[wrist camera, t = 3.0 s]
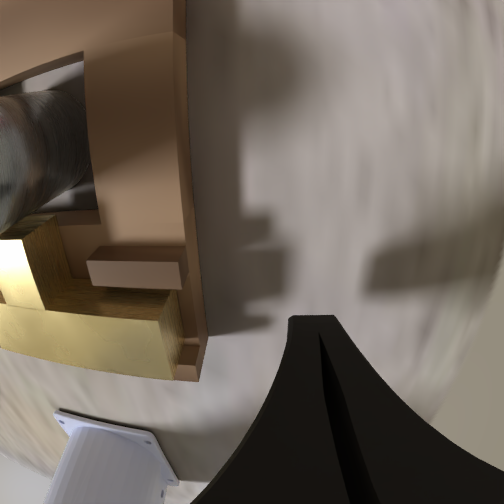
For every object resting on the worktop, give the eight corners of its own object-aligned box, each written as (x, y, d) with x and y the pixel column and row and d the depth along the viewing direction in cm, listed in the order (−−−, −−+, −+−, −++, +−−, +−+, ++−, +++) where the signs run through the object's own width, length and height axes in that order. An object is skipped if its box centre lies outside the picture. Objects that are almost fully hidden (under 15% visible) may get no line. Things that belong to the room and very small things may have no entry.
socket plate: (208, 337, 13) (198, 382, 11) (-5, 312, 14) (-28, 338, 11) (187, -54, 6) (166, -88, 4) (-56, 51, 7) (-90, 55, 5)
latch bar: (185, 339, 11) (173, 380, 9) (23, 320, 12) (1, 348, 10) (165, 209, 9) (140, 238, 7) (-13, 219, 9) (-45, 241, 8)
